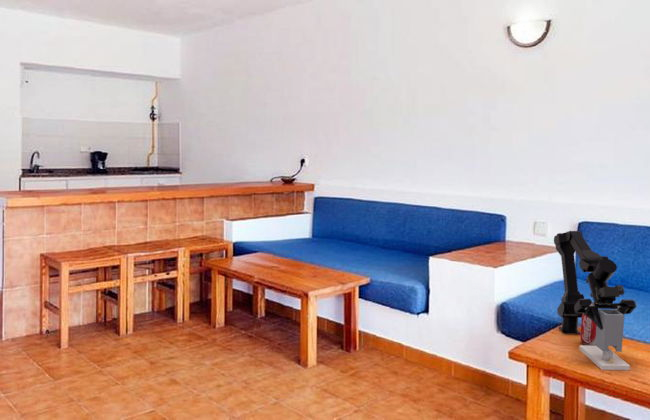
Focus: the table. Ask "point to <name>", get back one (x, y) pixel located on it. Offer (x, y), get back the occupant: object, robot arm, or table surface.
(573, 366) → the table surface
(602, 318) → the sleeve
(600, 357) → the post board
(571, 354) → the table surface
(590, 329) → the soda can
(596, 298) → the robot arm
